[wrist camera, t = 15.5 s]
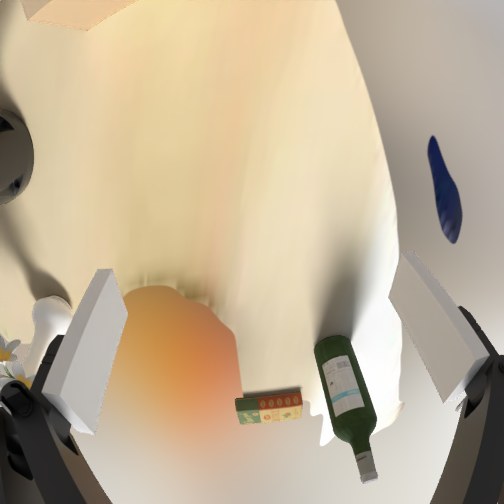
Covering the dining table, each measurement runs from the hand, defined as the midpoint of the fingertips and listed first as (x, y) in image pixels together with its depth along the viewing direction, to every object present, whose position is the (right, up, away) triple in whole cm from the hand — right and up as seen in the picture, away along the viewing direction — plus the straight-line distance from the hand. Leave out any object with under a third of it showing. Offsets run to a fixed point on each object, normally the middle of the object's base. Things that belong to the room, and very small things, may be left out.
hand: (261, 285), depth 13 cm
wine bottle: (+16, -18, +47) cm, 53 cm away
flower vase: (-38, -9, +37) cm, 54 cm away
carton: (+4, -36, +58) cm, 69 cm away
